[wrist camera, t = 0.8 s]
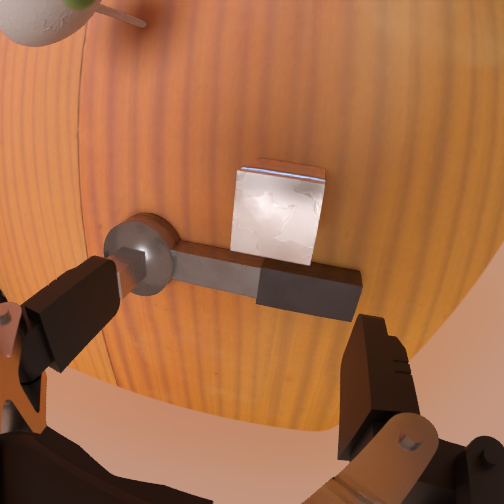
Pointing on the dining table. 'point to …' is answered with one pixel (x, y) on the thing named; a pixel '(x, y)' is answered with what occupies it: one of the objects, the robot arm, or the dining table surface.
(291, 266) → the ratchet
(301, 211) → the silver block
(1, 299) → the spotted tube
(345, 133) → the dining table surface
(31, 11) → the lollipop
